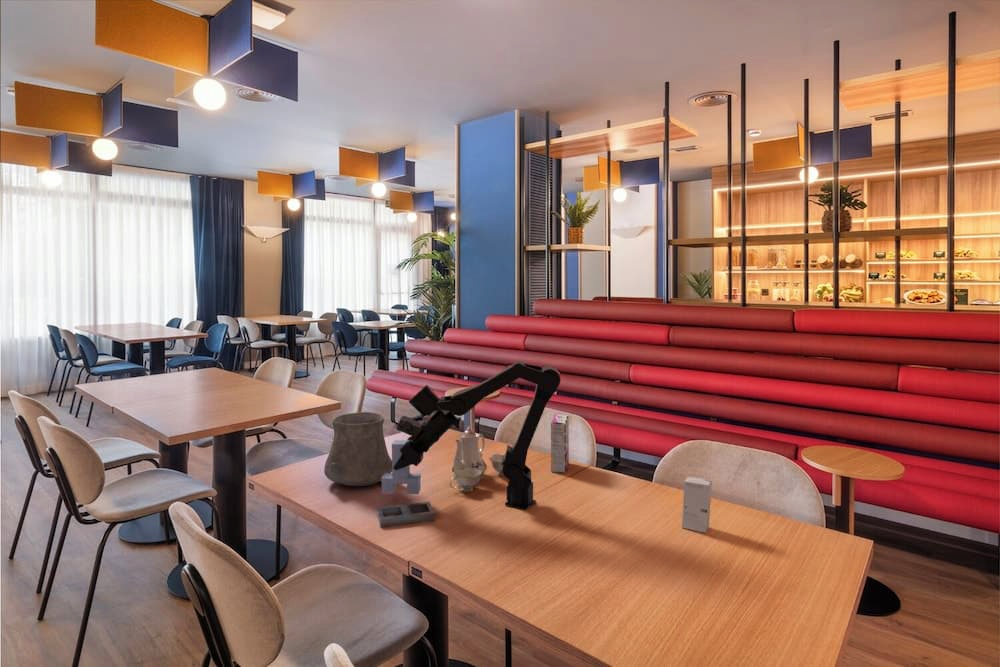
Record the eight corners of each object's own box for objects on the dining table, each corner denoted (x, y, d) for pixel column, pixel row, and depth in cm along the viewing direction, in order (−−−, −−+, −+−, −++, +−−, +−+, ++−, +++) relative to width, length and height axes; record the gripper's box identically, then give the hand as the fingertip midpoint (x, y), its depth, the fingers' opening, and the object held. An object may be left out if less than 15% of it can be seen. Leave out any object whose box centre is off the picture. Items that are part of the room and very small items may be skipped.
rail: (429, 508, 160) (429, 501, 159) (435, 520, 152) (434, 513, 152) (377, 515, 156) (377, 507, 155) (380, 527, 148) (380, 519, 148)
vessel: (383, 497, 168) (382, 428, 166) (311, 492, 172) (309, 424, 170) (408, 472, 190) (408, 410, 188) (344, 468, 193) (342, 408, 192)
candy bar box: (554, 461, 200) (554, 414, 199) (568, 462, 199) (569, 414, 198) (550, 472, 189) (550, 422, 188) (565, 473, 188) (566, 422, 187)
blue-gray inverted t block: (420, 488, 166) (420, 440, 165) (417, 494, 162) (417, 444, 161) (385, 488, 167) (384, 439, 165) (381, 494, 162) (380, 444, 161)
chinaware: (472, 504, 168) (477, 447, 165) (426, 487, 176) (430, 433, 173) (521, 475, 191) (526, 426, 189) (478, 462, 200) (482, 414, 197)
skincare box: (681, 528, 147) (682, 481, 146) (685, 521, 151) (686, 475, 150) (707, 533, 144) (708, 485, 143) (710, 526, 148) (712, 479, 147)
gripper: (420, 400, 171) (383, 437, 173) (407, 415, 153) (365, 456, 154) (447, 427, 172) (410, 463, 173) (438, 445, 153) (396, 486, 155)
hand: (396, 466), depth 164 cm, fingers closed on blue-gray inverted t block, 4 cm apart
